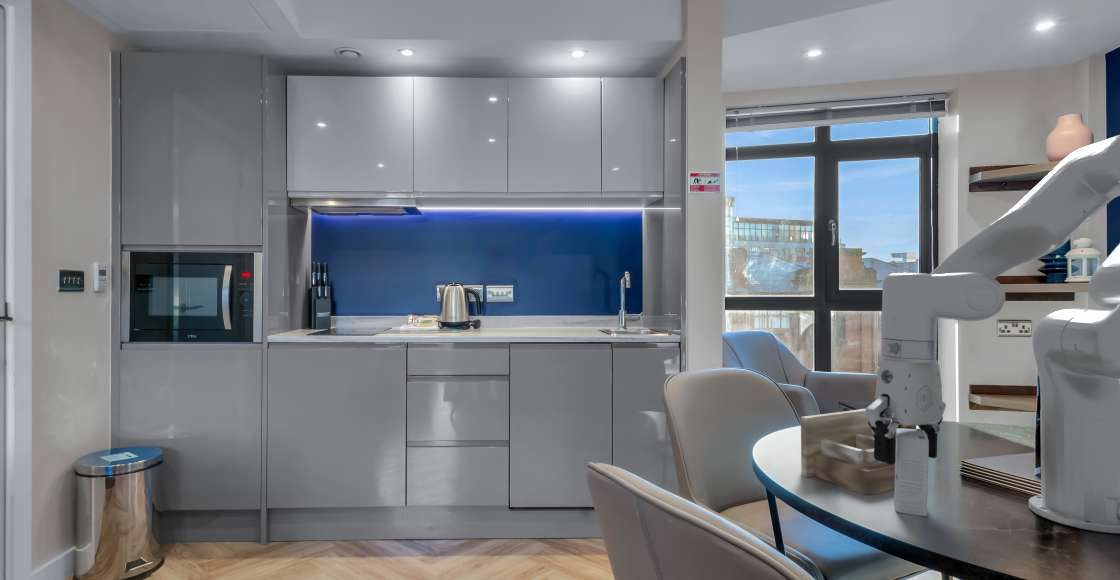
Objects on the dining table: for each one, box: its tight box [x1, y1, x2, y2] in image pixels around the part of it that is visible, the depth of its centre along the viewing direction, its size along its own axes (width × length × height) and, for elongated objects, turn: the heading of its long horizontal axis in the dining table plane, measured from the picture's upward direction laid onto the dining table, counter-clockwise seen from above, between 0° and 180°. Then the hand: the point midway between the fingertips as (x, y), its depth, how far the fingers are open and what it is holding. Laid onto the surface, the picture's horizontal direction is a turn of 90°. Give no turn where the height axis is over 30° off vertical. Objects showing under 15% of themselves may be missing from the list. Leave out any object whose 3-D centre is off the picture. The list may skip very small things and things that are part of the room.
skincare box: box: [893, 428, 930, 517], centre depth 90 cm, size 6×4×12 cm
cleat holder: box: [800, 409, 895, 496], centre depth 105 cm, size 14×18×11 cm
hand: (905, 458), depth 90 cm, fingers open, 9 cm apart
